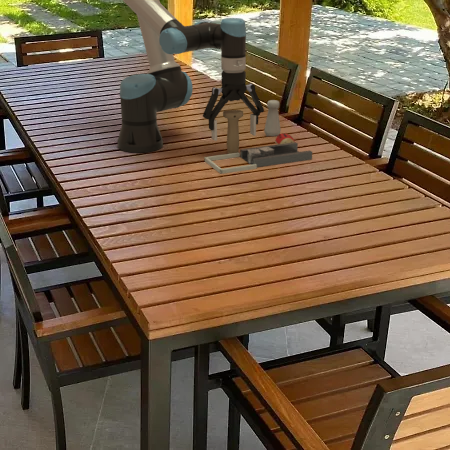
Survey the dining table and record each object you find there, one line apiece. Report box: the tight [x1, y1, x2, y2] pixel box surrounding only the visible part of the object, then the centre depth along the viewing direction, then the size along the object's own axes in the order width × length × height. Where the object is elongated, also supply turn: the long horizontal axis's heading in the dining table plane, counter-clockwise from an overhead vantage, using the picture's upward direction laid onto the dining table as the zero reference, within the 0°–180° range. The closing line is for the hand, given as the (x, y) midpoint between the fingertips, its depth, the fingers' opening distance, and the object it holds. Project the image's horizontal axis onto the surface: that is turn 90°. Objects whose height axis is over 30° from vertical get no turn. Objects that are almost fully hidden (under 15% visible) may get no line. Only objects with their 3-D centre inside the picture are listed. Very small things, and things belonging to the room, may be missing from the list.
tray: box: [203, 152, 258, 175], centre depth 223 cm, size 12×13×2 cm
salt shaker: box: [263, 99, 282, 137], centre depth 251 cm, size 6×6×13 cm
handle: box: [222, 109, 244, 154], centre depth 229 cm, size 5×6×15 cm
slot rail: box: [239, 141, 313, 168], centre depth 228 cm, size 20×11×4 cm, turn 113°
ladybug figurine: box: [274, 132, 296, 145], centre depth 244 cm, size 7×10×4 cm
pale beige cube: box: [259, 146, 274, 157], centre depth 227 cm, size 4×4×4 cm
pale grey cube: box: [247, 149, 261, 165], centre depth 225 cm, size 4×4×4 cm
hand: (233, 137), depth 229 cm, fingers open, 13 cm apart
